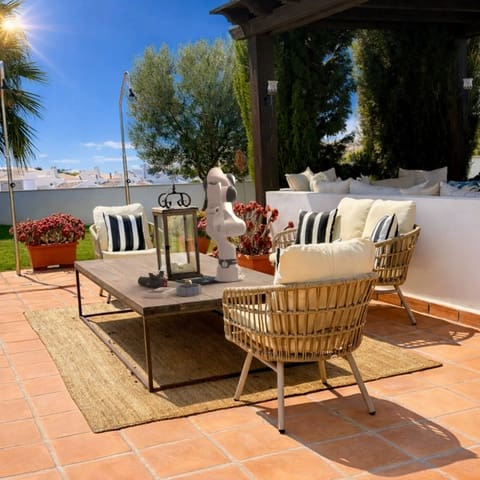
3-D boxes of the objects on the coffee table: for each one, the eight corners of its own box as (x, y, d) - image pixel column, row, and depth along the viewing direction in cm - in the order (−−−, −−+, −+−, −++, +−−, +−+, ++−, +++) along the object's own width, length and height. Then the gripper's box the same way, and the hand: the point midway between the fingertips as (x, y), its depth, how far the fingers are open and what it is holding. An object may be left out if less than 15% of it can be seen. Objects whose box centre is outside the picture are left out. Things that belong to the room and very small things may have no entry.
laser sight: (147, 284, 401) (146, 269, 400) (171, 287, 386) (170, 271, 385) (135, 286, 394) (134, 271, 393) (159, 290, 379) (158, 274, 378)
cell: (186, 291, 366) (186, 279, 365) (193, 291, 365) (192, 279, 364) (184, 292, 362) (183, 280, 361) (190, 293, 361) (189, 280, 360)
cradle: (160, 290, 378) (159, 285, 377) (178, 290, 374) (178, 285, 374) (144, 297, 358) (144, 292, 358) (163, 297, 354) (163, 292, 354)
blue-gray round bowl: (182, 291, 372) (182, 283, 372) (204, 291, 368) (203, 283, 367) (172, 295, 359) (172, 288, 358) (195, 296, 355) (195, 288, 354)
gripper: (216, 208, 377) (217, 230, 378) (204, 210, 357) (205, 234, 359) (226, 207, 375) (227, 230, 376) (214, 210, 356) (215, 234, 357)
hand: (216, 232), depth 368 cm, fingers open, 8 cm apart
